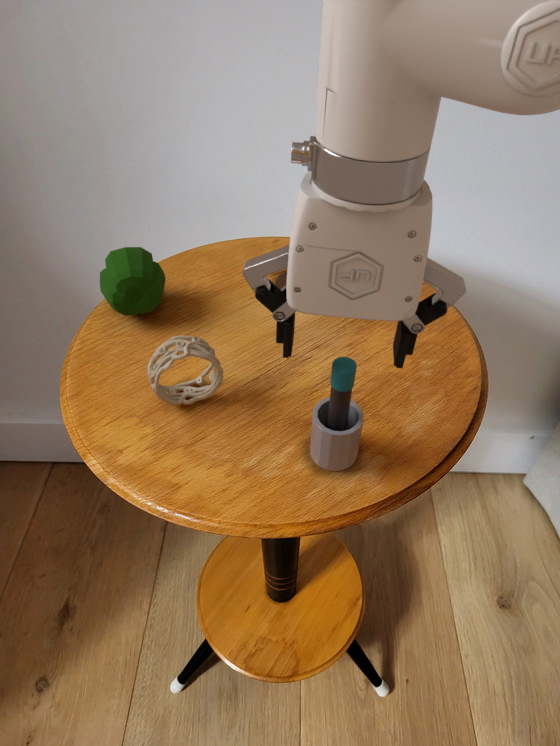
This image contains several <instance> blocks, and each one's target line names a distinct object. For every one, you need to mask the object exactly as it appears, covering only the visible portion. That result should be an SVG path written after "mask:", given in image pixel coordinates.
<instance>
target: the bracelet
mask: <svg viewBox="0 0 560 746" xmlns="http://www.w3.org/2000/svg"><path fill="white" fill-rule="evenodd" d="M174 346H175V347H174ZM172 347H173V348H172ZM180 353H182V354H180ZM189 357H194V358H199V359H201V360H205V361H208V362H210V363H209V365H208V367H207V368H206V369H205V370H204V371H202V373H201V374H199V376H197V377H196V378H193V379H190V380H187V381H184V382H180V383H177V384H175V385H164V384H161V383H160V382H159V381H160V377H161V375H162V373H163V372H164V371H165V370H167V371H168V370H169V369H170V368H171V367H172V365H173V364H174V363H175V362H176V361H181V360H185V359H186V358H189ZM158 359H159V360H158ZM146 369H147V371H146V372H147V377H148V378H147V379H148V382H149V384H150V387H151V391H152V392H153V393H154V395H155V396H156V397H157V398H158V400H161V401H163V402H165V403H167V405H168V404H169V405H172V406H180V405H185V406H187V405H188V406H189V405H192V404H195V403H196V402H199V401H203V400H207V399H209V398H210V397H211V396H213V395H214V393H216V392H217V390H218V389H219V388H220V387H221V386H222V384H223V381H224V369H223V367H222V365H221V361H220V359H219V358H218V357H217V356H216V351H215V348H214V347H212V346H211V345H210V344H209V342H207V341H206V340H204V339H203V338H201V337H198V336H197V337H196V336H191V335H174V336H172V337H170V338H169V339H167V340H165V341H164V342H162V344H161V345H159V346H158V347H157V349H156V350H155V351H154V353H153V354H152V355H151V358H150V360H149V362H148V364H147V368H146ZM212 370H213V371H212ZM211 371H212V372H211ZM209 373H210V374H209ZM207 375H209V376H208V379H209V381H211V382H210V384H209V385H208V384H205V383H206V380H205V377H206V376H207ZM194 384H197V385H199V386H200V387H196V386H193V385H194ZM187 398H190V399H187Z"/></svg>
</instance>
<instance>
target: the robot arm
mask: <svg viewBox="0 0 560 746" xmlns="http://www.w3.org/2000/svg"><path fill="white" fill-rule="evenodd" d="M321 14H322V15H321V29H320V42H319V43H320V44H319V45H320V46H319V58H318V59H319V60H318V74H317V76H318V77H317V93H316V105H315V106H316V107H315V121H314V135H310V137H309V140H303V142H299V141H292V143H291V150H290V151H291V153H290V163H291V164H298V165H299V164H301V166H302V167H307V171H306V173H305V174H304V175H303V177H302V181H301V182H300V185H299V188H298V192H297V195H296V200H295V204H294V209H293V215H292V220H291V227H290V236H289V244H288V245H284V246H281V247H279V248H276V249H274V250H271V251H269V252H265V253H263V254H261V255H258V256H255V257H252V258H249V259H247V260H245V262H244V264H243V269H242V276H243V277H244V279H245V281H246V282H247V285H248V286H249V287H250V289H251V290H252V292H253V293H254V298H255V299H256V300H257V301H258V302H259V303H260V304H262V306H263V307H265V308H266V309H267V310H268V311H269V312H271V314H272V319H273V320H274V321H275V322H276V329H275V330H276V331H275V335H276V336H275V343H276V344H282V358H284V359H289V358H291V357H292V355H293V354H292V353H293V346H294V339H295V328H296V327H295V325H296V324H295V323H296V312H297V313H302V314H305V315H312V316H323V317H333V318H342V319H343V318H346V319H353V320H355V319H356V320H368V321H369V320H370V321H378V322H379V321H380V322H397V324H396V329H395V332H394V333H395V334H394V338H393V342H392V354H393V367H395V368H396V369H403V368H404V365H405V360H406V356H413V354H414V350H415V346H416V342H417V339H418V334H422V333H423V332H424V330H425V328H426V326H427V325H429V324H431V323H433V322H435V321H437V320H438V319H440V318H442V317H443V316H445V315H446V314H447V313H448V309H450V307H453V306H454V304H456V303H457V302H458V301H459V300H460V298H462V297H463V296H464V295H465V294H466V293H467V288H466V282H465V279H464V277H462V276H461V275H459V274H457V273H455V272H454V271H452V270H451V269H449V268H446V267H445V266H443V265H442V264H440V263H438V262H437V261H435V260H433V259H431V258H430V257H428V255H429V248H430V241H431V234H432V233H431V232H432V223H433V222H432V221H433V193H432V190H431V187H430V185H429V183H428V182H427V181H426V179H425V174H426V170H427V166H428V162H429V158H430V152H431V147H432V144H433V137H434V134H435V130H436V129H435V128H436V125H437V119H438V114H439V112H440V111H439V110H440V105H441V101H442V98H445V99H448V100H452V101H456V102H460V103H463V104H467V105H471V106H473V107H477V108H482V109H486V110H489V111H492V112H498V113H501V114H507V115H514V116H537V115H538V116H539V115H545V114H549V113H553V112H556V111H559V110H560V0H322V13H321ZM284 270H286V271H287V284H286V285H285V286H284V287H283V288H282V289H281V290H280V289H279V288H278V287H277V286H276V285H275V283H274V282H273V281H271V280H270V279H269V278H268V276H269V275H273V274H275V273H278V272H281V271H284ZM424 282H425V283H427V284H429V285H430V286H433V287H435V288H436V289H437V292H434V293H432V294H430V295H429V296H427V297H426V298H424V299H422V300H421V294H422V289H423V285H424V284H423V283H424Z"/></svg>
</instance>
